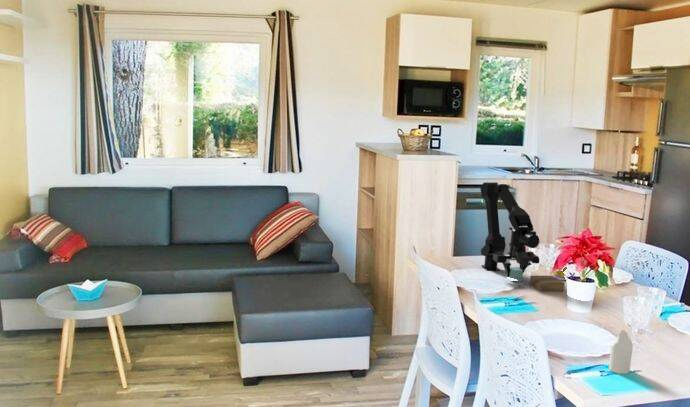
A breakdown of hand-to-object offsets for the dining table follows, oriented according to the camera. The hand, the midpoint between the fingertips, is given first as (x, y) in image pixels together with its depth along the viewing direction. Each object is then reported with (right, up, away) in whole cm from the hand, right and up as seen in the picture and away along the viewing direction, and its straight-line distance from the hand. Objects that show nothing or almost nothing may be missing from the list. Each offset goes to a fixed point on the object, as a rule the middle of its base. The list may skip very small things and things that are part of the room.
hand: (514, 277), depth 264 cm
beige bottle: (+8, -17, -84) cm, 86 cm away
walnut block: (+11, -4, -8) cm, 14 cm away
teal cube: (0, -1, 0) cm, 1 cm away
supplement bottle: (+22, -1, +6) cm, 23 cm away
